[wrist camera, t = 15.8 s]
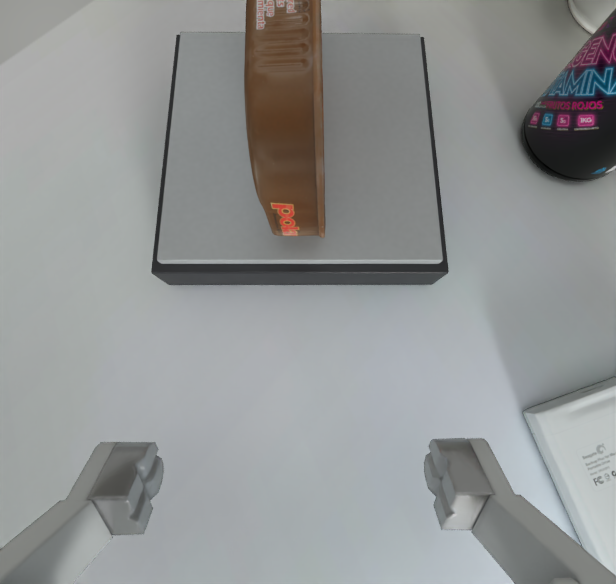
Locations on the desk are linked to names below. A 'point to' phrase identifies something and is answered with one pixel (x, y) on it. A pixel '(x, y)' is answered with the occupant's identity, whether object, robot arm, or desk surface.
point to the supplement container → (578, 113)
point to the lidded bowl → (591, 12)
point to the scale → (337, 166)
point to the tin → (286, 113)
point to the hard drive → (583, 461)
